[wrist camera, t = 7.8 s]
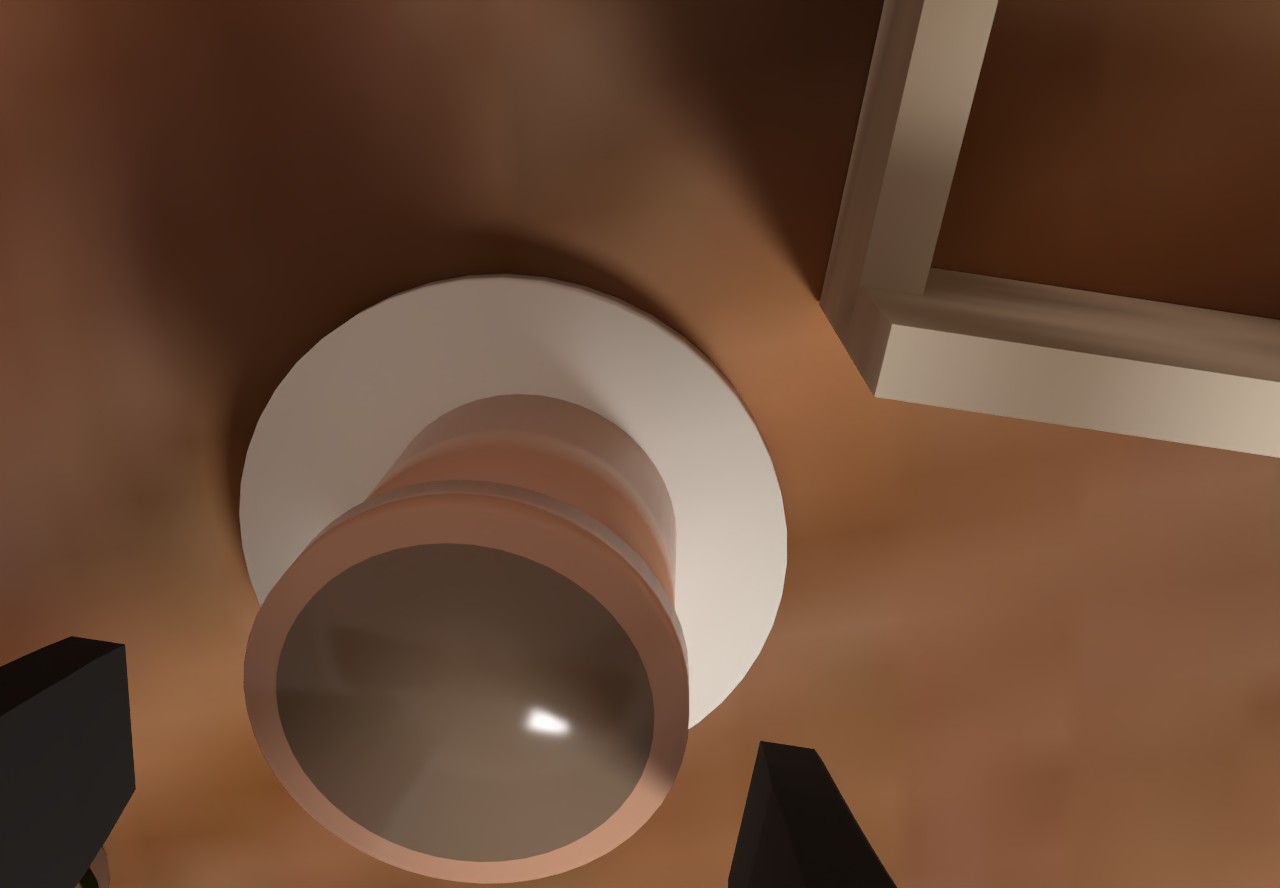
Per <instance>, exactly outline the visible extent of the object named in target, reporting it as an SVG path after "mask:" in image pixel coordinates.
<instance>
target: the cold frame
mask: <svg viewBox="0 0 1280 888" xmlns="http://www.w3.org/2000/svg"><path fill="white" fill-rule="evenodd" d="M997 4H998V0H884V5H883V10H882V14H881V19H880V24H879V28H878V33H877V38H876V42H875V47H874V52H873V56H872V61H871V66H870V70H869V75H868V80H867V84H866V89H865V94H864V98H863V103H862V108H861V112H860V117H859V122H858V126H857V131H856V136H855V140H854V145H853V150H852V154H851V159H850V164H849V168H848V173H847V178H846V182H845V187H844V192H843V196H842V201H841V206H840V210H839V215H838V220H837V224H836V229H835V234H834V238H833V243H832V248H831V252H830V257H829V262H828V266H827V271H826V275H825V280H824V285H823V289H822V294H821V299H820V303H819V305H820V307H821V309H822V310H823V312H824V314H825V315H826V317H827V319H828V320H829V322H830V324H831V325H832V327H833V329H834V330H835V332H836V334H837V335H838V337H839V339H840V340H841V342H842V344H843V345H844V347H845V349H846V350H847V352H848V354H849V355H850V357H851V359H852V360H853V362H854V364H855V365H856V367H857V369H858V370H859V372H860V374H861V375H862V377H863V379H864V380H865V382H866V384H867V385H868V387H869V389H870V390H871V392H872V394H873V395H874V397H879V398H886V399H892V400H899V401H906V402H912V403H919V404H926V405H932V406H939V407H946V408H952V409H959V410H966V411H972V412H979V413H986V414H992V415H999V416H1006V417H1012V418H1019V419H1026V420H1032V421H1039V422H1046V423H1052V424H1059V425H1066V426H1073V427H1079V428H1086V429H1093V430H1099V431H1106V432H1113V433H1119V434H1126V435H1133V436H1139V437H1146V438H1153V439H1159V440H1166V441H1173V442H1179V443H1186V444H1193V445H1199V446H1206V447H1213V448H1219V449H1226V450H1233V451H1239V452H1246V453H1253V454H1259V455H1266V456H1273V457H1279V458H1280V320H1276V319H1270V318H1263V317H1256V316H1250V315H1243V314H1236V313H1230V312H1223V311H1217V310H1210V309H1203V308H1197V307H1190V306H1183V305H1177V304H1170V303H1163V302H1157V301H1150V300H1143V299H1137V298H1130V297H1124V296H1117V295H1110V294H1104V293H1097V292H1090V291H1084V290H1077V289H1070V288H1064V287H1057V286H1051V285H1044V284H1037V283H1031V282H1024V281H1017V280H1011V279H1004V278H997V277H991V276H984V275H977V274H971V273H964V272H958V271H951V270H944V269H938V268H931V267H930V266H931V262H932V259H933V255H934V251H935V247H936V243H937V239H938V235H939V231H940V227H941V223H942V219H943V215H944V211H945V208H946V204H947V200H948V196H949V192H950V188H951V184H952V180H953V176H954V172H955V168H956V164H957V160H958V157H959V153H960V149H961V145H962V141H963V137H964V133H965V129H966V125H967V121H968V117H969V113H970V110H971V106H972V102H973V98H974V94H975V90H976V86H977V82H978V78H979V74H980V70H981V66H982V62H983V59H984V55H985V51H986V47H987V43H988V39H989V35H990V31H991V27H992V23H993V19H994V15H995V11H996V8H997Z"/></svg>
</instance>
